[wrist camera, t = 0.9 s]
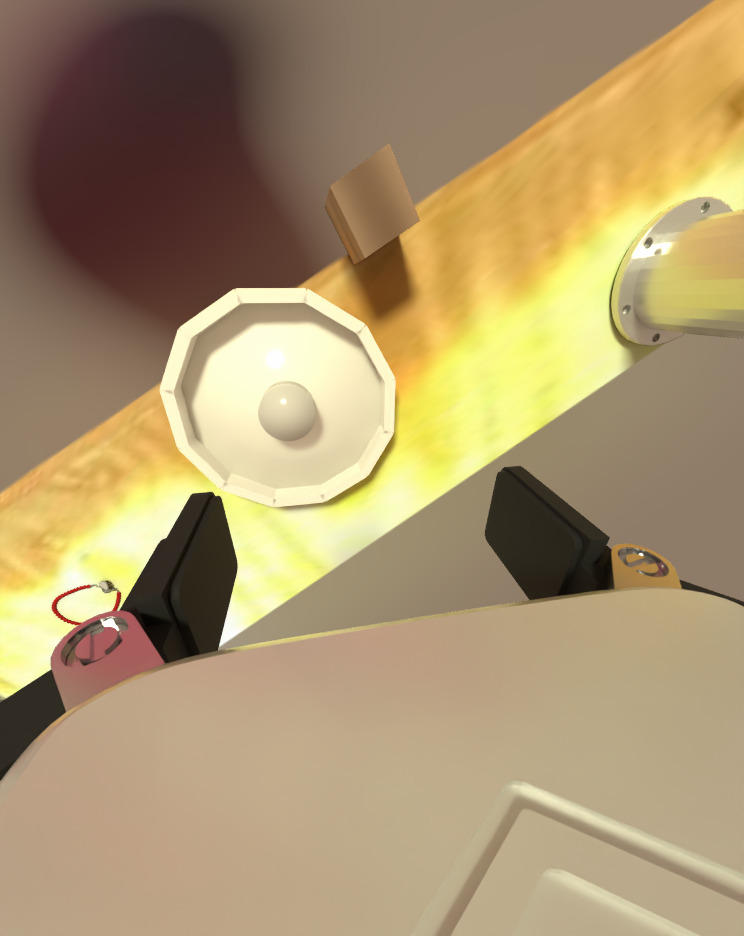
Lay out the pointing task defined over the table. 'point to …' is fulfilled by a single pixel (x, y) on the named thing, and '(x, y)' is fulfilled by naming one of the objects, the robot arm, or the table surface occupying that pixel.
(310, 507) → the table surface
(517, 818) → the robot arm
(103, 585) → the red cord bracelet
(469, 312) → the table surface
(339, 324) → the dish
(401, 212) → the wooden brick
